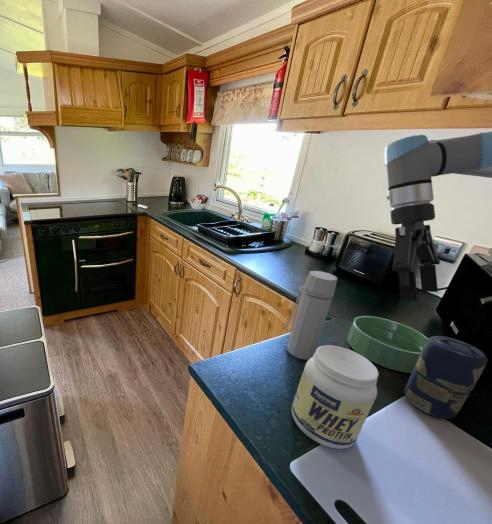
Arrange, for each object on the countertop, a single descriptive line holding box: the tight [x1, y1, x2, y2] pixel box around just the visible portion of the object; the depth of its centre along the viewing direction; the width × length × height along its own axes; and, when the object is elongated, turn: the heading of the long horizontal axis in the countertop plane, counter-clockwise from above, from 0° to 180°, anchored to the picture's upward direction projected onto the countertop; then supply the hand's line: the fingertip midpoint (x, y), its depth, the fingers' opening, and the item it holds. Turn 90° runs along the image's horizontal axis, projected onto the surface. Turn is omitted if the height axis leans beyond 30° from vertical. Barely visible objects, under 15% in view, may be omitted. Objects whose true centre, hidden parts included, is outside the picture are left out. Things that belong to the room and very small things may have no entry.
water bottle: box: [285, 270, 338, 361], centre depth 81 cm, size 9×8×25 cm
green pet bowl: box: [346, 315, 430, 374], centre depth 87 cm, size 19×19×7 cm
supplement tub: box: [291, 344, 379, 450], centre depth 59 cm, size 12×12×17 cm
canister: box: [403, 335, 488, 420], centre depth 66 cm, size 10×10×18 cm
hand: (419, 295), depth 68 cm, fingers open, 13 cm apart
